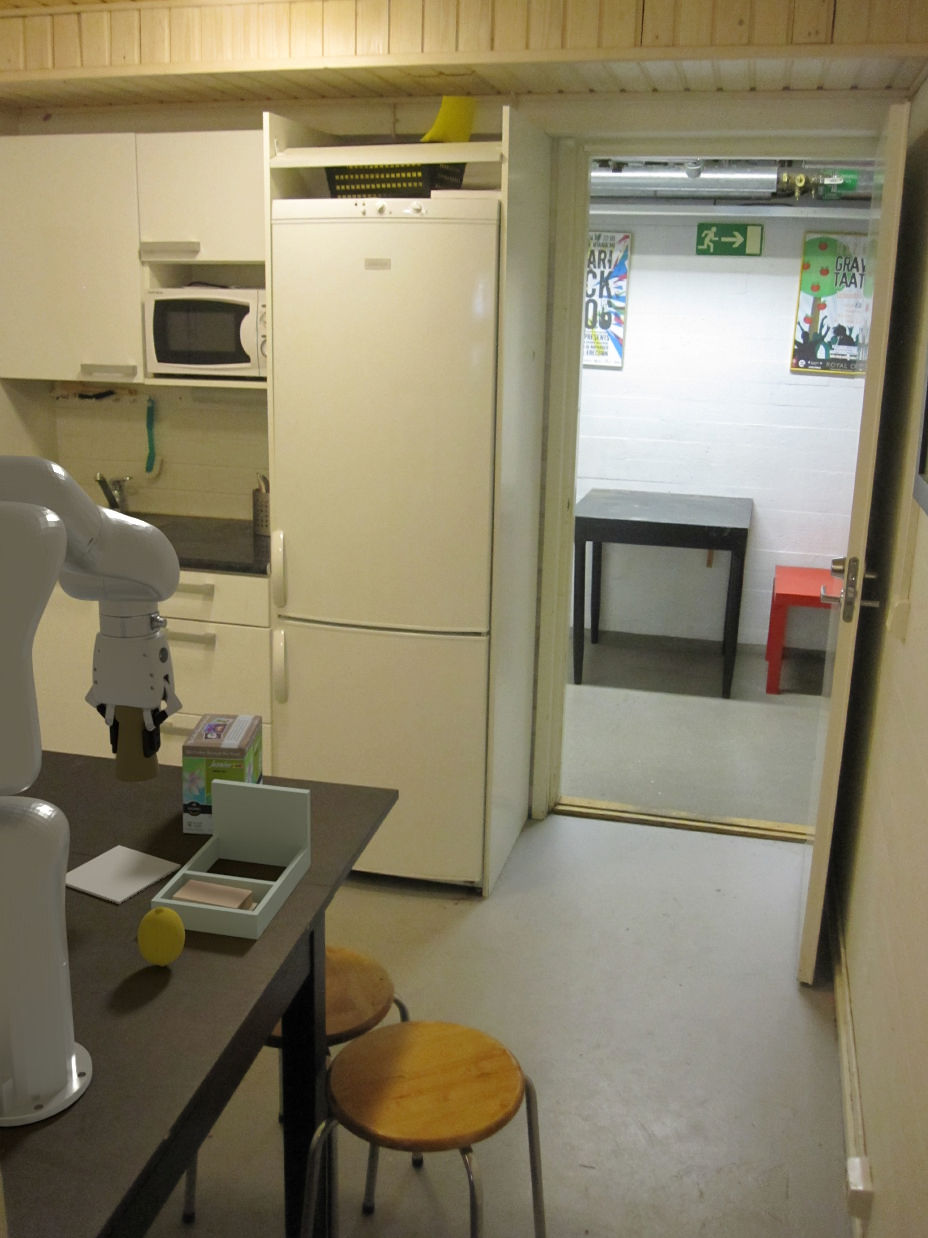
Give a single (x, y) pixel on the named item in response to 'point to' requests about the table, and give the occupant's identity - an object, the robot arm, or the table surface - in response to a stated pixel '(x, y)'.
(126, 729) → the cork
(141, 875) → the mat
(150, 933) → the lemon
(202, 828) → the tea box
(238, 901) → the offcut upper
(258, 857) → the rack
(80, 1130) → the table surface
